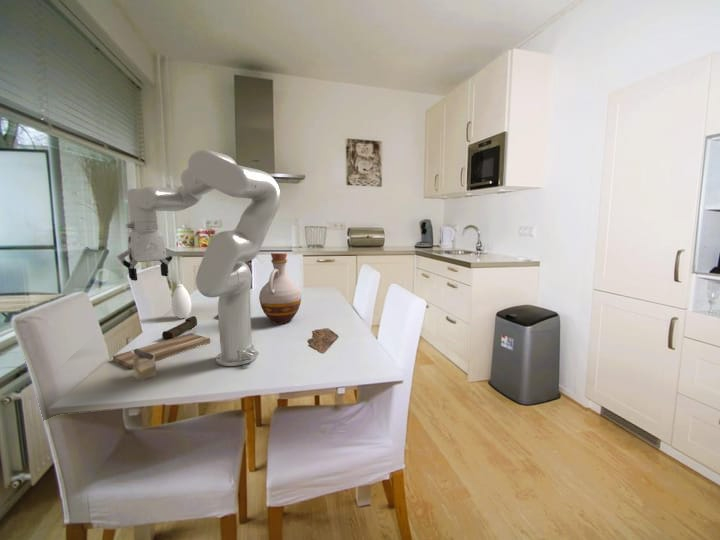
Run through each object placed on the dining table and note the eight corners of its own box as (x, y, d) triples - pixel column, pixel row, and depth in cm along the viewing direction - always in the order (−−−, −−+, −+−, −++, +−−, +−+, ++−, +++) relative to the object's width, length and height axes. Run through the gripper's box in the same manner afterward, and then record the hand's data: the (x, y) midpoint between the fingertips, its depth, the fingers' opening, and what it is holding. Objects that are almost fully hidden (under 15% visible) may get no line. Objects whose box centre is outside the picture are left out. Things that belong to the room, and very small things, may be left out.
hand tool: (171, 341, 125) (170, 329, 125) (162, 341, 126) (161, 329, 125) (203, 325, 144) (202, 315, 143) (194, 325, 144) (193, 314, 144)
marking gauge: (160, 376, 97) (157, 352, 96) (145, 382, 94) (142, 357, 93) (145, 370, 101) (143, 346, 100) (131, 375, 98) (128, 351, 97)
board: (210, 342, 124) (210, 338, 123) (132, 369, 102) (131, 364, 102) (191, 336, 130) (190, 332, 130) (113, 360, 108) (112, 355, 108)
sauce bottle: (173, 321, 148) (170, 281, 146) (172, 317, 155) (168, 278, 152) (193, 319, 153) (190, 279, 150) (191, 314, 159) (188, 276, 156)
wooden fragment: (313, 329, 139) (313, 326, 139) (340, 329, 139) (340, 326, 139) (302, 354, 114) (302, 351, 113) (335, 354, 114) (335, 351, 113)
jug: (292, 329, 138) (289, 255, 133) (251, 327, 140) (247, 255, 136) (307, 315, 157) (305, 250, 152) (270, 314, 160) (267, 250, 155)
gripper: (119, 227, 104) (126, 283, 106) (176, 226, 118) (181, 275, 120) (109, 227, 108) (115, 281, 110) (165, 226, 122) (170, 273, 124)
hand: (149, 277), depth 115 cm, fingers open, 9 cm apart
